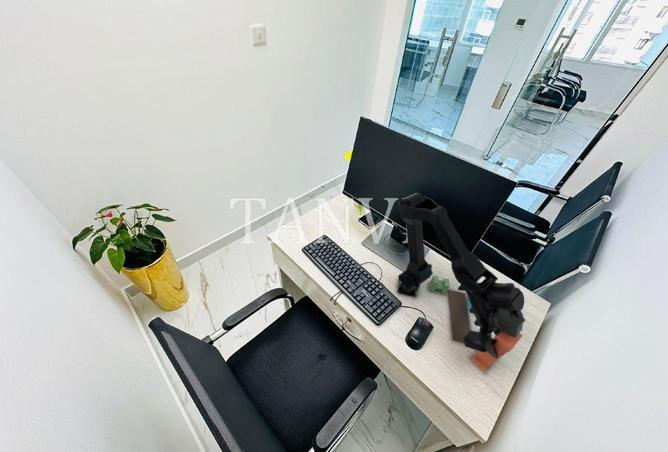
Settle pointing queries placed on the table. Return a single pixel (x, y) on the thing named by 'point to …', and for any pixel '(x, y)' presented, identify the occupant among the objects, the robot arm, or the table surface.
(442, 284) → the green knobbly lump
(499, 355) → the letter I
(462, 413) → the table surface
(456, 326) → the board
